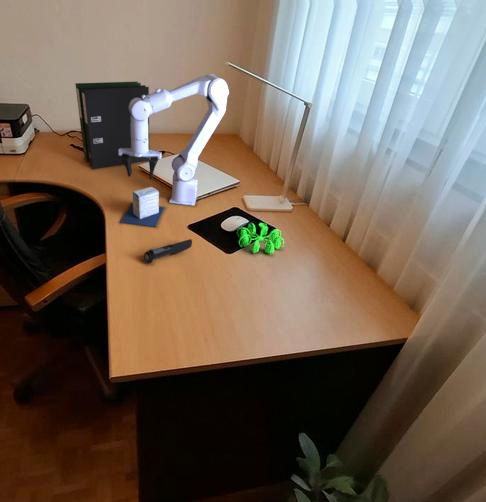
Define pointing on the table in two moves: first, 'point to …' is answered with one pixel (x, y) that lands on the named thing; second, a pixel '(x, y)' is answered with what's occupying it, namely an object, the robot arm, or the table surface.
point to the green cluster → (260, 238)
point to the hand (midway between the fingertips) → (140, 176)
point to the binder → (107, 120)
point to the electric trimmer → (167, 250)
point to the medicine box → (145, 202)
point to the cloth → (145, 221)
